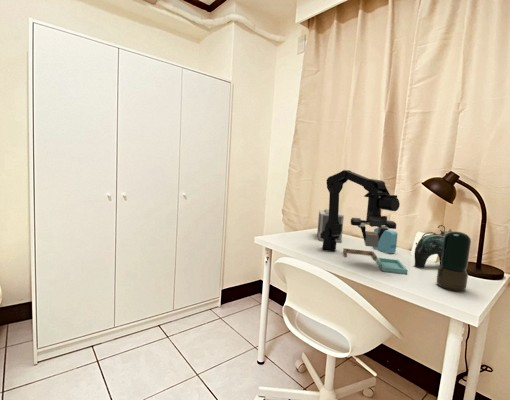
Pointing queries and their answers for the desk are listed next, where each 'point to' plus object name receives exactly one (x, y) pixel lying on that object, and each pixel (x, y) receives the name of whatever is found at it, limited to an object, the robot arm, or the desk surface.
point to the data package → (387, 241)
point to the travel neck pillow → (429, 247)
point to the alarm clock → (324, 219)
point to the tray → (391, 265)
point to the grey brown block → (371, 239)
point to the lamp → (454, 261)
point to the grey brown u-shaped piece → (359, 252)
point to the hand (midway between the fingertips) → (370, 241)
